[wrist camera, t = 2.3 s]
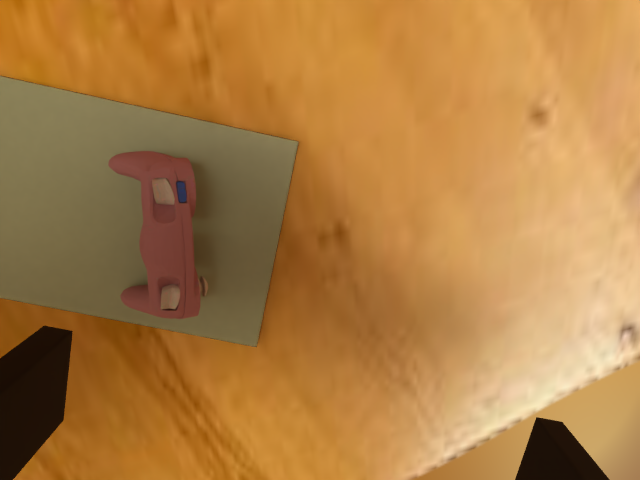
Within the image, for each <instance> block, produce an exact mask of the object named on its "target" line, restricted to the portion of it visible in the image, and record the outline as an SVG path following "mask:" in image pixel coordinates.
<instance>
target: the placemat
mask: <svg viewBox="0 0 640 480" xmlns="http://www.w3.org/2000/svg"><path fill="white" fill-rule="evenodd" d="M298 143H299V142H298V141H294V140H290V139H285V138H281V137H276V136H272V135H267V134H263V133H258V132H254V131H249V130H245V129H240V128H235V127H231V126H226V125H222V124H217V123H213V122H208V121H204V120H199V119H195V118H190V117H186V116H181V115H177V114H172V113H167V112H163V111H158V110H154V109H149V108H145V107H140V106H136V105H131V104H127V103H122V102H118V101H113V100H109V99H104V98H99V97H95V96H90V95H86V94H81V93H77V92H72V91H68V90H63V89H59V88H54V87H50V86H45V85H41V84H36V83H31V82H27V81H22V80H18V79H13V78H9V77H4V76H0V298H4V299H9V300H14V301H19V302H24V303H30V304H35V305H40V306H45V307H50V308H56V309H61V310H66V311H71V312H76V313H82V314H87V315H92V316H97V317H102V318H108V319H113V320H118V321H123V322H128V323H134V324H139V325H144V326H149V327H154V328H160V329H165V330H170V331H175V332H180V333H186V334H191V335H196V336H201V337H206V338H212V339H217V340H222V341H227V342H232V343H238V344H243V345H248V346H253V347H257V343H258V338H259V333H260V328H261V324H262V319H263V314H264V309H265V304H266V299H267V294H268V289H269V284H270V280H271V275H272V270H273V265H274V260H275V255H276V250H277V245H278V240H279V235H280V231H281V226H282V221H283V216H284V211H285V206H286V201H287V196H288V191H289V187H290V182H291V177H292V172H293V167H294V162H295V157H296V152H297V147H298ZM136 151H153V152H158V153H162V154H166V155H170V156H172V157H174V158H188V159H189V161H190V163H191V165H192V168H193V173H194V178H195V184H196V207H195V213H194V216H193V217H192V218H191V219H192V228H193V242H194V266H195V268H196V272H197V276H198V279H199V281H200V277H201V276H203V277H204V278H205V280H206V281H207V283H208V290H207V293H206V295H205V296H203V295H202V293H201V295H200V310H199V314H198V316H195V317H189V318H184V319H176V318H173V319H170V318H161V317H157V316H154V315H151V314H147V313H144V312H141V311H138V310H135V309H132V308H130V307H128V306H126V305H125V304H124V303H123V302H122V301H121V297H120V295H121V294H122V292H123V291H124V290H125V289H127V288H129V287H132V286H138V285H148V278H147V269H146V267H145V264H144V262H143V260H142V256H141V253H140V246H139V240H140V233H141V229H142V225H143V212H142V202H141V181H139V180H137V179H134V178H132V177H128V176H124V175H120V174H118V173H116V172H115V171H113V170H112V169H111V168H110V167H109V166H108V163H109V160H110V159H111V158H112V157H113V156H115V155H118V154H121V153H126V152H136Z"/></svg>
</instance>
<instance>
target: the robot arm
mask: <svg viewBox="0 0 640 480" xmlns="http://www.w3.org/2000/svg"><path fill="white" fill-rule="evenodd" d="M72 332H73V331H69V330H64V329H59V328H53V327H48V326H43V327H42V328H40V329H39V330H38V331H36V332H35V333H34V334H32V335H31V336H30V337H28V338H27V339H26V340H24V341H23V342H22V343H20V344H19V345H18V346H16V347H15V348H14V349H12V350H11V351H10V352H8V353H7V354H6V355H4V356H3V357H2V358H0V480H13V479H14V478H15V477H16V475H17V474H18V473H19V472H20V471H21V470H22V468H23V467H24V466H25V465H26V464H27V462H28V461H29V460H30V459H31V458H32V457H33V455H34V454H35V453H36V452H37V451H38V450H39V448H40V447H41V446H42V445H43V444H44V442H45V441H46V440H47V439H48V438H49V437H50V435H51V434H52V433H53V432H54V431H55V429H56V428H57V427H58V426H59V425H60V424H61V422H62V421H63V419H64V409H65V400H66V390H67V380H68V371H69V361H70V351H71V342H72ZM515 480H609V479H608V477H607V476H606V475H605V474H604V473H603V471H602V470H601V469H600V468H599V466H598V465H597V464H596V463H595V461H594V460H593V459H592V458H591V457H590V455H589V454H588V453H587V452H586V450H585V449H584V448H583V447H582V446H581V444H580V443H579V442H578V441H577V440H576V438H575V437H574V436H573V435H572V433H571V432H570V431H569V430H568V429H567V427H566V426H565V425H564V424H563V422H559V421H554V420H548V419H543V418H536V420H535V423H534V426H533V429H532V432H531V435H530V438H529V441H528V444H527V447H526V450H525V453H524V455H523V458H522V461H521V465H520V467H519V470H518V473H517V476H516V479H515Z"/></svg>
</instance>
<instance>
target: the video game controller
mask: <svg viewBox="0 0 640 480" xmlns="http://www.w3.org/2000/svg"><path fill="white" fill-rule="evenodd" d="M108 166H109V167H110V168H111V169H112V170H113V171H115V172H116V173H118V174H120V175H124V176H128V177H132V178H134V179H137V180H139V181H141V202H142V212H143V225H142V229H141V233H140V240H139V246H140V253H141V256H142V260H143V262H144V264H145V267H146V269H147V278H148V285H138V286H132V287H129V288H127V289H125V290H124V291H123V292H122V294H121V295H120V297H121V301H122V302H123V303H124V304H125V305H126V306H128V307H130V308H132V309H135V310H138V311H141V312H144V313H147V314H151V315H154V316H157V317H161V318H170V319H173V318H176V319H184V318H189V317H195V316H198V314H199V310H200V295H201V293H202V295H203V296H205V295H206V293H207V290H208V283H207V281H206V280H205V278H204V277H203V276H201V277H200V281H199V279H198V276H197V272H196V268H195V266H194V242H193V228H192V219H191V218H192V217H193V216H194V213H195V207H196V184H195V178H194V173H193V168H192V165H191V163H190V161H189V159H188V158H174V157H172V156H170V155H166V154H162V153H158V152H153V151H136V152H126V153H121V154H118V155H115V156H113V157H112V158H111V159H110V160H109V163H108Z"/></svg>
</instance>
